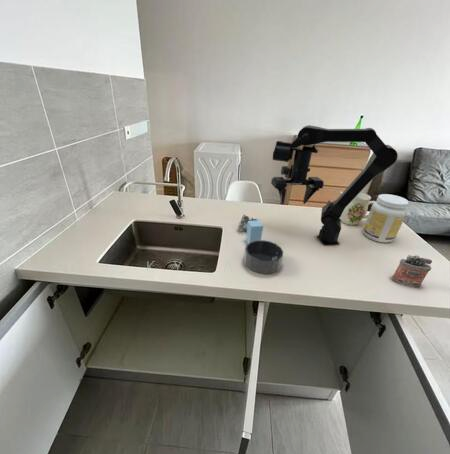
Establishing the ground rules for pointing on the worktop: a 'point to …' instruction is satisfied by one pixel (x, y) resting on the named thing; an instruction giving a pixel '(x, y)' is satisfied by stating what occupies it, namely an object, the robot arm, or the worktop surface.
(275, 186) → the robot arm
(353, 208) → the pitcher
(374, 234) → the supplement tub
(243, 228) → the egg carton
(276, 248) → the pot
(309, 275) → the worktop surface
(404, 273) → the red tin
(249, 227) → the ice block
